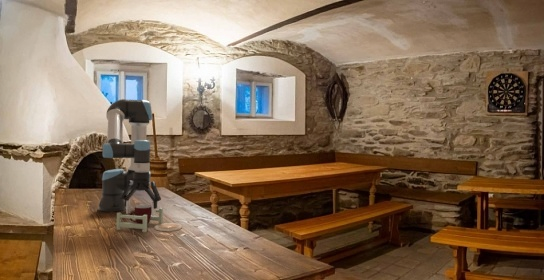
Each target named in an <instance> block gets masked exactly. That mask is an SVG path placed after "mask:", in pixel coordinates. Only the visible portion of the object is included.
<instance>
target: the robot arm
mask: <svg viewBox="0 0 544 280" xmlns="http://www.w3.org/2000/svg"><path fill="white" fill-rule="evenodd" d="M106 119H107V135H106V136H107V137H106V138H107V139H106V142H103V143H102V157H103V158H106V159H107V158H108V159H130V164H129V165H130V166H128V167H127V171H125V170H124V169H123V168H115V169H108V170H105V171H104V172H103V173H102V177H101V181H102V185H101V197H100V201H99V204H98V211H100V212H106V213H108V212H109V213H111V212H122V211H125V215H129V214H131V201H132V199H131V197H132V196H133V195H134V193H136V192H141V191H143V192H144V191H145V192H146V194H147V195H148V196H149V198H150V199H151V200H152V202H151V206H152V213H151V216H156V213H157V212H156V209H158V202H159V201H162V197H161V195H160V193H159V190H158V188H157V186H156V181H151V171H150V168H151V165H150V164H151V162H150V160H151V141H150V140H147V130H148V129H147V126H148V125H149V124H150V121H152V120H153V112H152V106H151V102H150V101H148V100H146V99H145V100H144V99H126V98H125V99H124V98H122V99H117V100H116V101H114V102H112V104H111V105H109V107H108V108H107V110H106ZM124 120H128V123H129V124H130V126H131V128H130V131H131V132H130V133H131V135H130V137H131V138H130V139H131V140H130V142H129V143H127V142H123V138H124V137H123V134H124V132H123V131H124V130H123V128H124V127H123V121H124Z"/></svg>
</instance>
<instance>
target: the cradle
mask: <svg viewBox="0 0 544 280" xmlns="http://www.w3.org/2000/svg"><path fill="white" fill-rule="evenodd" d="M156 213H158V216H156V215H153V216H151V218H150V221H153V222H155V221H156V222H158V224H163V222H164V221H163V220H164V218H163V217H164V207H159V208H156ZM129 218H131V219H132V220H136V219H143V224H137V222H126V221H125V222H122V219H129ZM122 228H128V229H130V228H131V229H141V230H142V231H141V232H142V233H147V232H148V226H147V215H143V216H135V215H133V214H132V215H130V214H122V212H116V231H121V230H122Z"/></svg>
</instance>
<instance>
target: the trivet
mask: <svg viewBox="0 0 544 280" xmlns="http://www.w3.org/2000/svg"><path fill="white" fill-rule="evenodd" d="M154 229H155V230H156V231H159V232H175V231H179V230H182V229H183V225H182V224H180V223H176V222H166V223H165V222H164V223H163V224H159V223H158V224H156V225H155V226H154Z"/></svg>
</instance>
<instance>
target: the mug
mask: <svg viewBox="0 0 544 280" xmlns="http://www.w3.org/2000/svg"><path fill="white" fill-rule="evenodd" d="M151 213H152V205H149V204H139V205H138V204H137V205H135V206H134V211H132V212H130V213H129V215H132V216H133V215H134V216H143V215H147V227H148V225H149V224H150V221H151V220H150V218H151ZM128 219H129V220H130V221H131V223H136V224H143V219H136V220H135V219H132V218H128Z"/></svg>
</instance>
